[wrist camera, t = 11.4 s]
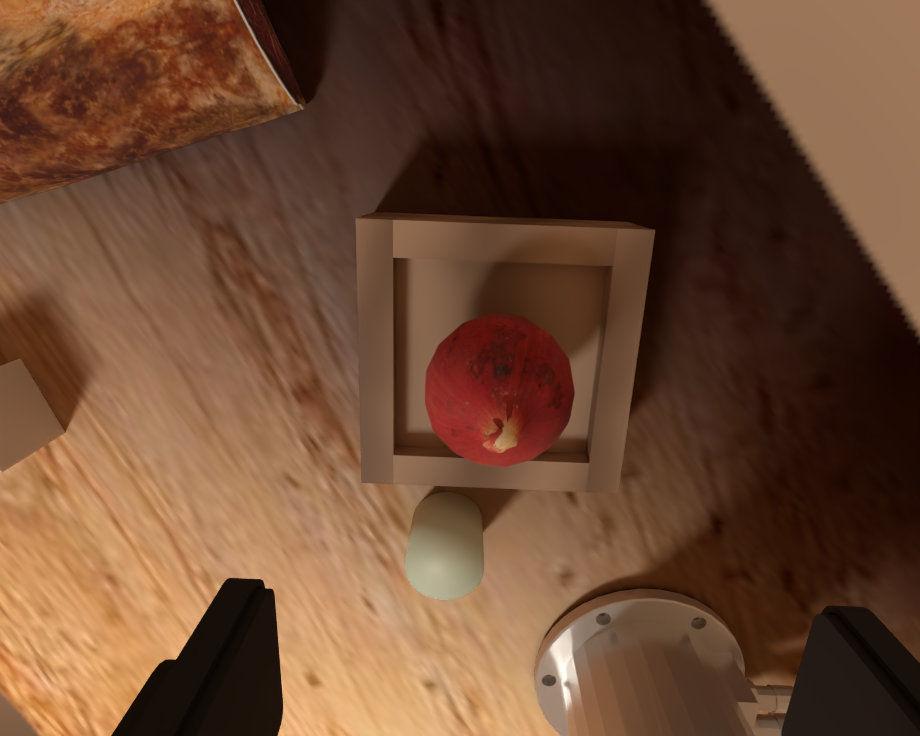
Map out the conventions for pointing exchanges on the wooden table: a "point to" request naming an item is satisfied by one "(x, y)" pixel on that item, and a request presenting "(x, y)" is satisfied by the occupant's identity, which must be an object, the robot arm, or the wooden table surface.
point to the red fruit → (499, 390)
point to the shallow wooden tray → (504, 292)
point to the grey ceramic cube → (23, 415)
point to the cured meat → (129, 83)
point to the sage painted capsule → (445, 546)
